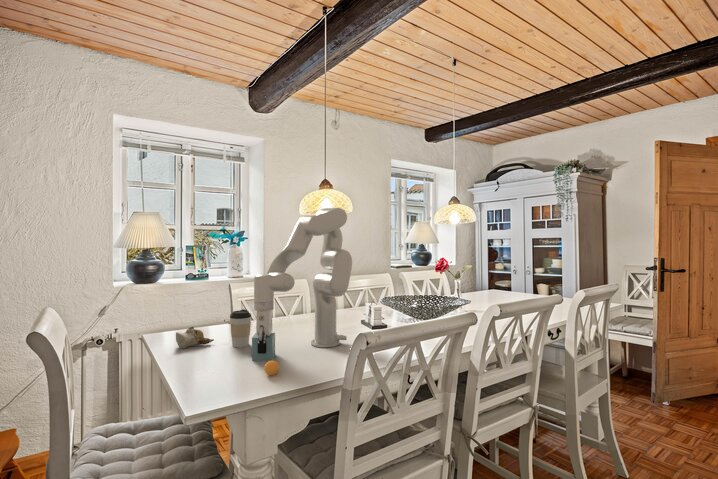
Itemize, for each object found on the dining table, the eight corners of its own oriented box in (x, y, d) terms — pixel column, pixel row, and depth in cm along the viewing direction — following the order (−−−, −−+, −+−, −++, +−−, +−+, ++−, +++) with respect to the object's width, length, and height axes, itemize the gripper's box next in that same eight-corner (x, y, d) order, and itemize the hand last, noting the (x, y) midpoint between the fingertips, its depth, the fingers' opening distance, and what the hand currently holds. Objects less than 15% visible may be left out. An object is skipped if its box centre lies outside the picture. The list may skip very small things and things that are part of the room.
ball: (279, 372, 140) (280, 358, 140) (278, 377, 135) (278, 362, 135) (265, 372, 139) (265, 358, 139) (263, 377, 134) (263, 363, 134)
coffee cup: (245, 348, 168) (245, 313, 168) (225, 347, 170) (225, 312, 170) (254, 342, 177) (254, 309, 177) (236, 341, 179) (236, 308, 179)
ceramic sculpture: (170, 326, 170) (203, 322, 181) (169, 347, 170) (202, 342, 181) (182, 331, 163) (215, 326, 175) (181, 352, 163) (214, 346, 174)
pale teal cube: (275, 354, 161) (275, 332, 161) (272, 360, 153) (272, 337, 153) (255, 354, 160) (255, 332, 160) (252, 360, 153) (252, 337, 152)
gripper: (270, 309, 148) (270, 356, 148) (276, 301, 165) (276, 343, 166) (249, 309, 147) (249, 357, 148) (258, 301, 165) (258, 344, 165)
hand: (263, 349), depth 157 cm, fingers closed on pale teal cube, 7 cm apart
